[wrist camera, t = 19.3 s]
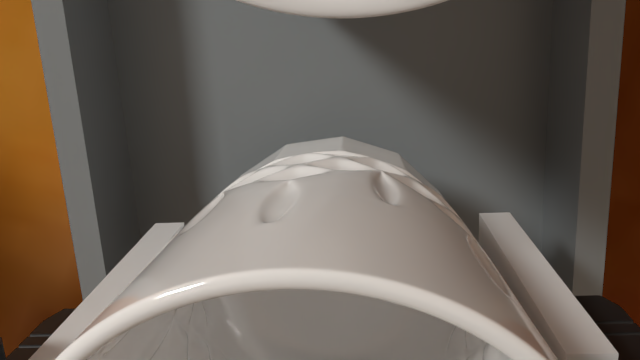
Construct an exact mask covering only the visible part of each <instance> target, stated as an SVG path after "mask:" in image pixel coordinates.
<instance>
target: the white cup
mask: <svg viewBox="0 0 640 360" xmlns="http://www.w3.org/2000/svg"><path fill="white" fill-rule="evenodd" d="M54 360H559V359H558V358H557V356H556V355H555V353H554V352H553V350H552V349H551V347H550V346H549V344H548V343H547V342H546V340H545V339H544V337H543V336H542V334H541V333H540V331H539V330H538V328H537V327H536V325H535V324H534V322H533V321H532V319H531V318H530V316H529V315H528V313H527V312H526V310H525V309H524V307H523V306H522V304H521V303H520V301H519V300H518V298H517V297H516V295H515V294H514V292H513V291H512V289H511V288H510V286H509V285H508V283H507V282H506V280H505V279H504V277H503V276H502V274H501V273H500V271H499V270H498V268H497V267H496V265H495V264H494V262H493V261H492V259H491V258H490V257H489V255H488V254H487V253H486V251H485V250H484V249H483V248H482V247H481V245H480V244H479V243H478V241H477V240H476V239H475V238H474V236H473V235H472V233H471V231H470V230H469V229H468V227H467V226H466V225H465V223H464V222H463V221H462V219H461V218H460V217H459V216H458V214H457V213H456V212H455V211H454V210H453V208H452V207H451V206H450V205H449V204H448V203H447V202H446V200H445V199H444V198H443V196H442V195H441V193H440V192H439V191H438V190H437V189H436V188H435V187H434V186H433V185H432V184H431V183H430V182H429V181H428V180H427V179H426V178H424V177H423V176H422V175H421V174H420V173H419V172H418V171H417V170H416V169H415V168H414V167H413V166H412V165H410V164H409V163H408V162H407V161H406V160H405V159H404V158H403V157H402V156H401V155H400V154H398V153H396V152H393V151H390V150H387V149H383V148H380V147H377V146H374V145H370V144H367V143H364V142H361V141H357V140H354V139H351V138H347V137H344V136H340V137H334V138H327V139H320V140H313V141H306V142H299V143H292V144H286V145H285V146H283V147H282V148H280V149H279V150H277V151H276V152H274V153H273V154H271V155H270V156H268V157H267V158H265V159H264V160H262V161H261V162H259V163H258V164H256V165H255V166H254V167H252V168H251V169H249V170H248V171H246V172H245V173H243V174H242V175H240V176H239V177H238V178H237V180H235V181H234V182H233V183H231V184H230V185H229V186H228V187H227V188H225V189H224V190H223V191H222V192H221V193H220V194H218V195H217V196H216V197H215V198H214V199H213V200H212V201H211V202H210V203H209V204H208V205H207V206H205V207H204V208H203V209H202V210H201V211H200V212H199V213H198V214H196V215H195V216H194V217H193V218H192V219H191V220H190V221H189V222H188V223H187V224H186V225H185V226H184V227H183V228H182V229H181V230H180V231H179V232H178V233H177V234H176V235H175V236H174V237H173V238H172V239H171V240H170V241H169V242H168V243H167V244H166V245H165V246H164V247H163V248H162V249H161V251H160V252H159V253H158V254H157V255H156V256H155V257H154V258H153V259H152V260H151V261H150V262H149V263H148V264H147V265H146V266H145V267H144V268H143V269H142V270H141V271H140V272H139V273H138V274H137V276H136V277H135V278H134V279H133V280H132V281H131V282H130V283H129V284H128V285H127V286H126V287H125V288H124V289H123V290H122V291H121V292H120V293H119V294H118V295H117V296H116V297H115V298H114V299H113V300H112V301H111V302H110V303H109V304H108V305H107V307H106V308H105V309H104V310H103V311H102V312H101V313H100V314H99V315H98V316H97V317H96V318H95V319H94V320H93V321H92V322H91V323H90V324H89V325H88V326H87V327H86V328H85V329H84V330H83V331H82V332H81V333H80V334H79V335H78V336H77V337H76V338H75V339H74V340H73V341H72V342H71V343H70V344H69V345H68V346H67V347H66V348H65V349H64V350H63V351H62V352H61V353H60V354H59V355H58V356H57V357H56V358H55V359H54Z"/></svg>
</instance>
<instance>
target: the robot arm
mask: <svg viewBox="0 0 640 360" xmlns="http://www.w3.org/2000/svg"><path fill="white" fill-rule="evenodd" d="M183 227H184V222H181V223H155V224H154V226H153V227H152V228H151V229H150V230H149V231H148V232H147V233H146V234H145V235H144V236H143V237H142V238H141V239H140V241H139V242H138V243H137V244H136V245H135V246H134V247H133V248H132V249H131V250H130V251H129V252H128V253H127V254H126V256H125V257H124V258H123V259H122V260H121V261H120V262H119V263H118V264H117V265H116V266H115V267H114V268H113V269H112V271H111V272H110V273H109V274H108V275H107V276H106V277H105V278H104V279H103V280H102V281H101V282H100V283H99V284H98V286H97V287H96V288H95V289H94V290H93V291H92V292H91V293H90V294H89V295H88V296H87V297H86V298H85V299H84V301H83V302H82V303H81V304H80V305H79V306H78V307H77V308H76V309H63V310H62V311H60V312H58V313H56V314H55V315H53V316H51V317H49V318H47V319H46V320H44V321H43V322H42V323H41V324H40V325H39V326H38V327H37V328H36V329H35V330H34V331H33V332H32V333H31V334H30V337H27V338H26V339H25V340H24V341H23V342H22V343H21V344H20V345H19V348H16V349H15V350H14V351H13V352H12V353H11V354H10V355H9V356H8V357H7V358H6V357H5V352H4V348H3V343H2V338H1V337H0V360H54V359H55V358H56V357H57V356H58V355H59V354H60V353H61V352H62V351H63V350H64V349H65V348H66V347H67V346H68V345H69V344H70V343H71V342H72V341H73V340H74V339H75V338H76V337H77V336H78V335H79V334H80V333H81V332H82V331H83V330H84V329H85V328H86V327H87V326H88V325H89V324H90V323H91V322H92V321H93V320H94V319H95V318H96V317H97V316H98V315H99V314H100V313H101V312H102V311H103V310H104V309H105V308H106V307H107V305H108V304H109V303H110V302H111V301H112V300H113V299H114V298H115V297H116V296H117V295H118V294H119V293H120V292H121V291H122V290H123V289H124V288H125V287H126V286H127V285H128V284H129V283H130V282H131V281H132V280H133V279H134V278H135V277H136V276H137V274H138V273H139V272H140V271H141V270H142V269H143V268H144V267H145V266H146V265H147V264H148V263H149V262H150V261H151V260H152V259H153V258H154V257H155V256H156V255H157V254H158V253H159V252H160V251H161V249H162V248H163V247H164V246H165V245H166V244H167V243H168V242H169V241H170V240H171V239H172V238H173V237H174V236H175V235H176V234H177V233H178V232H179V231H180V230H181V229H182V228H183ZM479 244H480V245H481V247H482V248H483V249H484V250H485V251H486V253H487V254H488V255H489V257H490V258H491V259H492V261H493V262H494V264H495V265H496V267H497V268H498V270H499V271H500V273H501V274H502V276H503V277H504V279H505V280H506V282H507V283H508V285H509V286H510V288H511V289H512V291H513V292H514V294H515V295H516V297H517V298H518V300H519V301H520V303H521V304H522V306H523V307H524V309H525V310H526V312H527V313H528V315H529V316H530V318H531V319H532V321H533V322H534V324H535V325H536V327H537V328H538V330H539V331H540V333H541V334H542V336H543V337H544V339H545V340H546V342H547V343H548V344H549V346H550V347H551V349H552V350H553V352H554V353H555V355H556V356H557V358H558V359H559V360H640V328H639V326H638V325H637V324H636V323H633V320H632V319H631V318H630V317H629V315H628V314H627V313H626V312H625V311H624V310H623V309H622V308H621V307H620V306H618V305H617V304H615V303H613V302H611V301H609V300H607V299H606V298H604V297H602V296H600V295H587V296H574V295H573V294H572V292H571V291H570V290H569V289H568V287H567V286H566V285H565V283H564V282H563V281H562V279H561V278H560V277H559V276H558V274H557V273H556V272H555V270H554V269H553V268H552V267H551V265H550V264H549V263H548V261H547V260H546V259H545V257H544V256H543V255H542V254H541V252H540V251H539V250H538V248H537V247H536V246H535V245H534V243H533V242H532V241H531V239H530V238H529V237H528V235H527V234H526V233H525V232H524V230H523V229H522V228H521V226H520V225H519V224H518V223H517V221H516V220H515V219H514V217H513V216H512V215H511V213H510V212H501V213H479Z"/></svg>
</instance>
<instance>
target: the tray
mask: <svg viewBox="0 0 640 360" xmlns="http://www.w3.org/2000/svg"><path fill="white" fill-rule="evenodd" d="M31 2H32V8H33V14H34V20H35V25H36V31H37V37H38V43H39V49H40V54H41V60H42V66H43V72H44V78H45V83H46V89H47V95H48V101H49V107H50V112H51V118H52V124H53V130H54V136H55V141H56V147H57V153H58V159H59V165H60V170H61V176H62V182H63V188H64V194H65V199H66V205H67V211H68V217H69V223H70V228H71V234H72V240H73V246H74V252H75V257H76V263H77V269H78V275H79V281H80V286H81V292H82V298H83V301H84V299H85V298H86V297H87V296H88V295H89V294H90V293H91V292H92V291H93V290H94V289H95V288H96V287H97V286H98V284H99V283H100V282H101V281H102V280H103V279H104V278H105V277H106V276H107V275H108V274H109V273H110V272H111V271H112V269H113V268H114V267H115V266H116V265H117V264H118V263H119V262H120V261H121V260H122V259H123V258H124V257H125V256H126V254H127V253H128V252H129V251H130V250H131V249H132V248H133V247H134V246H135V245H136V244H137V243H138V242H139V241H140V239H141V238H142V237H143V236H144V235H145V234H146V233H147V232H148V231H149V230H150V229H151V228H152V227H153V226H154V224H155V223H181V222H184V226H185V225H186V224H187V223H188V222H189V221H190V220H191V219H192V218H193V217H194V216H195V215H196V214H198V213H199V212H200V211H201V210H202V209H203V208H204V207H205V206H207V205H208V204H209V203H210V202H211V201H212V200H213V199H214V198H215V197H216V196H217V195H218V194H220V193H221V192H222V191H223V190H224V189H225V188H227V187H228V186H229V185H230V184H231V183H233V182H234V181H235V180H237V178H238V177H239V176H240V175H242V174H243V173H245V172H246V171H248V170H249V169H251V168H252V167H254V166H255V165H256V164H258V163H259V162H261V161H262V160H264V159H265V158H267V157H268V156H270V155H271V154H273V153H274V152H276V151H277V150H279V149H280V148H282V147H283V146H285V145H286V144H292V143H299V142H306V141H313V140H320V139H327V138H334V137H340V136H344V137H347V138H351V139H354V140H357V141H361V142H364V143H367V144H370V145H374V146H377V147H380V148H383V149H387V150H390V151H393V152H396V153H398V154H400V155H401V156H402V157H403V158H404V159H405V160H406V161H407V162H408V163H409V164H410V165H412V166H413V167H414V168H415V169H416V170H417V171H418V172H419V173H420V174H421V175H422V176H423V177H424V178H426V179H427V180H428V181H429V182H430V183H431V184H432V185H433V186H434V187H435V188H436V189H437V190H438V191H439V192H440V193H441V195H442V196H443V198H444V199H445V200H446V202H447V203H448V204H449V205H450V206H451V207H452V208H453V210H454V211H455V212H456V213H457V214H458V216H459V217H460V218H461V219H462V221H463V222H464V223H465V225H466V226H467V227H468V229H469V230H470V231H471V233H472V235H473V236H474V238H475V239H476V240H477V241H478V243H479V213H501V212H510V213H511V215H512V216H513V217H514V219H515V220H516V221H517V223H518V224H519V225H520V226H521V228H522V229H523V230H524V232H525V233H526V234H527V235H528V237H529V238H530V239H531V241H532V242H533V243H534V245H535V246H536V247H537V248H538V250H539V251H540V252H541V254H542V255H543V256H544V257H545V259H546V260H547V261H548V263H549V264H550V265H551V267H552V268H553V269H554V270H555V272H556V273H557V274H558V276H559V277H560V278H561V279H562V281H563V282H564V283H565V285H566V286H567V287H568V289H569V290H570V291H571V292H572V294H573V295H574V296H587V295H600V296H602V291H603V279H604V267H605V254H606V242H607V229H608V217H609V205H610V192H611V180H612V167H613V155H614V143H615V130H616V118H617V105H618V93H619V80H620V68H621V56H622V43H623V31H624V18H625V6H626V0H448V1H445V2H442V3H439V4H436V5H432V6H429V7H425V8H421V9H417V10H413V11H408V12H403V13H398V14H392V15H385V16H377V17H366V18H342V19H340V18H317V17H306V16H298V15H291V14H286V13H280V12H275V11H271V10H267V9H262V8H259V7H255V6H252V5H248V4H245V3H242V2H239V1H236V0H31Z"/></svg>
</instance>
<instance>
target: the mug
mask: <svg viewBox="0 0 640 360" xmlns="http://www.w3.org/2000/svg"><path fill="white" fill-rule="evenodd" d="M236 1H239V2H242V3H245V4H248V5H252V6H255V7H259V8H262V9H267V10H271V11H275V12H280V13H286V14H291V15H298V16H306V17H317V18H340V19H342V18H366V17H377V16H385V15H392V14H398V13H403V12H408V11H413V10H417V9H421V8H425V7H429V6H432V5H436V4H439V3H442V2H445V1H448V0H236Z"/></svg>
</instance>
